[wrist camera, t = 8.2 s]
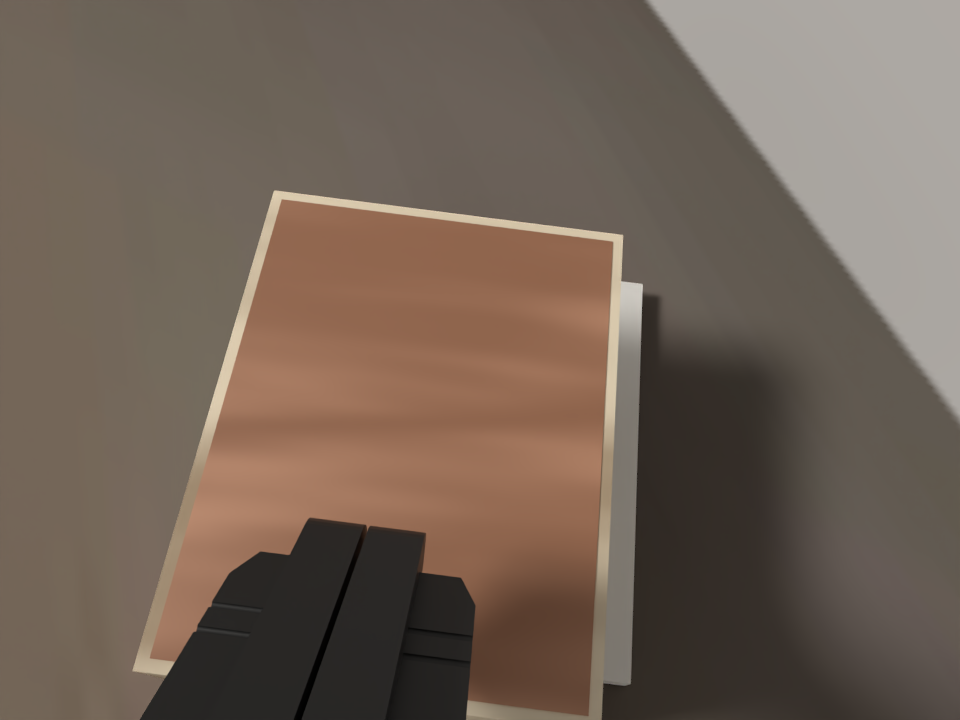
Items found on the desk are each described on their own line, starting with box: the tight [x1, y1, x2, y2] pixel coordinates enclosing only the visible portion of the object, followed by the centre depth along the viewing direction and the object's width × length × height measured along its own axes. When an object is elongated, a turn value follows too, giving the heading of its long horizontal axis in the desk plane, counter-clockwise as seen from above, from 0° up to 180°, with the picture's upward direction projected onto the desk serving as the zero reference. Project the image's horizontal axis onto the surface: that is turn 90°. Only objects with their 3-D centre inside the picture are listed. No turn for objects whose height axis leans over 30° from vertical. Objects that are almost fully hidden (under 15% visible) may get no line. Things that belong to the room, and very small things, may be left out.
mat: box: [603, 281, 643, 686], centre depth 19 cm, size 10×10×1 cm
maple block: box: [133, 191, 623, 720], centre depth 16 cm, size 5×7×9 cm
